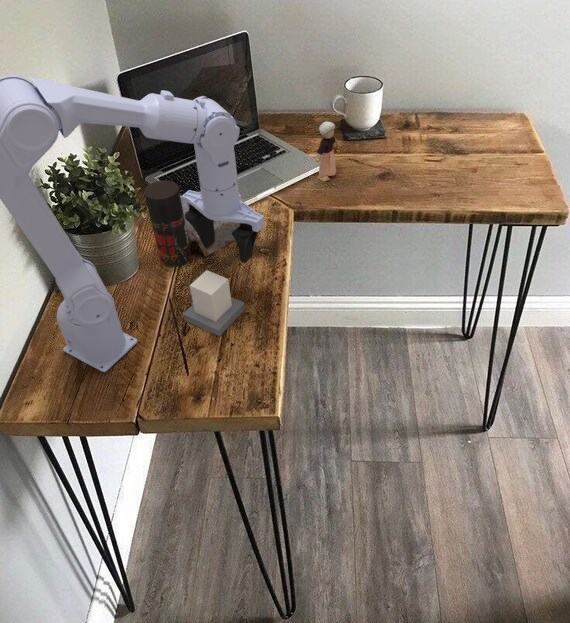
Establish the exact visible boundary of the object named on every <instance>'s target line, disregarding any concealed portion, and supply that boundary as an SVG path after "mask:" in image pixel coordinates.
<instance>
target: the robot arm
mask: <svg viewBox="0 0 570 623" xmlns="http://www.w3.org/2000/svg"><path fill="white" fill-rule="evenodd" d="M30 79H31V80H32V82H31V81H30V80H29V79H27V78H25V77H22V76H19V75H15V74H13V75H12V74H9V75H5V76H4V75H3V76H1V77H0V200H1V202H2V204H3V205H4V206H5V208H6V209H7V211H8V212H9V214H10V215H11V216H12V218H13V220H14V221H15V222H16V224H17V225H18V227H19V228H20V229H21V231H22V232H23V234H24V235H25V237H26V238H27V239H28V241H29V242H30V244H31V245H32V246H33V248H34V249H35V251H36V253H37V254H38V255H39V256H40V258H41V260H42V261H43V262H44V264H45V265H46V266H47V268H48V269H49V271H50V272H51V274H52V275H53V276H54V279H55V284H56V286H57V288H58V289H59V291H60V292H61V294H62V296H63V298H64V299H63V301H62V302H60V305H59V306H58V309H57V313H56V321H57V324H58V327H59V329H60V332H61V334H62V337H63V338H64V341H65V344H66V345H65V346H64V347H63V349H62V350H63V352H64V353H67V355H70V356H72V357H73V358H76V359H78V360H79V361H81V362H83V363H85V364H86V365H88V366H90V367H92V368H95V369H96V370H98V371H100V372H102V373H106V372H108V371H109V370H110V369H111V368H112V367H113V366H114V365H115V364H116V363H117V362H118V361H119V360H120V359H121V358H123V357H124V356H125V355H126V354H127V353H128V352H129V351H130V350H131V349H132V348H134V346H136V345H137V344H138V341H139V340H138V339H137V338H135V337H134V336H132V335H129V334H127V333H125V332H124V331H123V327H122V324H121V321H120V318H119V315H118V311H117V308H116V306H115V300H114V298H113V296H112V295H111V294H110V293H109V291H108V290H107V288H106V286H105V284H104V282H103V280H102V279H101V277H100V275H99V273H98V271H97V268H96V266H95V265H94V264H93V263H92V262H91V261H90V260H88V259H85V258H84V257H82V255H81V254H80V252H79V251H78V250H77V249H76V247H75V246H74V244H73V242H72V241H71V239H70V238H69V236H68V234H67V233H66V232H65V230H64V228H63V227H62V225H61V224H60V222H59V221H58V218H56V216H55V214H54V212H53V211H52V209H51V208H50V206H49V205H48V203H47V201H46V200H45V199H44V197H43V195H42V194H41V192H40V191H39V189H38V188H37V186H36V184H35V183H34V181H33V179H32V178H31V176H30V172H31V170H32V168H33V167H34V165H36V164H37V163H38V162H39V160H41V159H42V157H43V156H44V155H45V154H46V153H47V152H48V151H50V149H51V148H52V147H53V146H54V144H55V143H56V142H57V140H58V137H59V133H60V134H61V135H62V137H63V139H66V138H68V137H69V136H70V135H71V134H72V133H73V132H74V131H75V130H76V129H77V128H78V126H80V125H81V124H90V125H91V124H93V125H107V126H115V127H116V126H117V127H129V128H139V130H140V131H141V133H142V134H143V136H144V137H146V138H148V139H152V140H162V141H167V142H176V143H182V144H193V146H194V152H195V161H196V162H195V163H196V168H197V174H198V181H199V188H200V191H194V190H191V189H189V190H188V191H186V192H185V193H183V195H181V201H182V206H186V207H189V211H188V212H186V213H185V219H186V220H187V221H188V222H189V223H190V224H191V225H192V226H193V228H194V229H195V231H196V232H197V234H198V236H199V237H200V239H201V241H202V243H203V245H204V247H205V248H207V249H208V248H209V247H210V246H211V245H212V244H213V243H214V242H215V232H214V220H215V221H224V222H234V223H240V226H239V227H238V228H237V229H236V230H234V231H233V232H232V235H233V237H234V238H235V240H234V241H235V242H236V244H237V247H238V252H239V253H238V254H239V258H240V261H241V263H243V264H246V263H247V262H248V261H249V260H250V259H251V258H252V257H253V251H254V246H255V242H256V241H257V240H256V239H257V237H258V234H259V232H260V231H261V230H262V229H264V228H263V227H265V216H264V214H261V213H259V212H257V211H255V210H254V209H253V208H252V207H250V206H249V205H248V204H247V203H246V202H244V201H243V200H242V194H240V191H239V181H238V170H237V162H236V154H235V145H236V142H237V141H238V139H239V137H240V133H241V132H240V131H241V130H240V127H239V126H238V125H237V121H236V120H235V118H234V117H233V116H232V115H231V113H229V112H228V111H227V110H226V109H224V107H222V106H221V105H220V104H219V103H218V102H216V101H215V100H214V99H211V98H208V97H207V96H205V95H201V96H198V97H196V98H194V99H186V98H182V97H181V98H180V97H177V96H176V97H175V95H173V93H172V92H171V91H169V90H164V89H163V90H161V91H160V94H159V93H153V92H152V93H148V94H147V95H146V96H144V97H143V98H142V99H140V100H138V99H133V98H128V97H124V96H118V95H114V94H110V93H105V92H101V91H97V90H92V89H89V88H88V89H86V88H82V87H77V86H74V85H69V84H64V83H60V82H58V81H54V80H50V79H45V78H41V77H31V78H30ZM241 200H242V201H243V202H244V203H243V202H242V201H241ZM246 204H247V205H248V206H247V205H246Z"/></svg>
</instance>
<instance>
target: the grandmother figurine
mask: <svg viewBox="0 0 570 623" xmlns="http://www.w3.org/2000/svg"><path fill="white" fill-rule="evenodd" d="M335 128H336V125H335V123H333V122H331V121H324V122H322V123H321V124H320V125H319V127H318V130H319V132H320V135H321V136H322V139H321V140H320V143H319V146H318V149H317V152H316V155H315V156H316V158H315V162H316V163H319V167H318V168H319V169H318V176H317V179H318V178H319V179H320V180H322V181H327V180H329V181H330V177H328V176H332V175H334V176H335V175H336V173H337V169H336V162H335V161H336V160H335V153H334V148H335V147H337V142H336V138H335V136H334V134H335ZM332 177H333V176H332ZM319 179H318V180H319ZM320 180H319V181H320ZM322 181H321V182H322Z"/></svg>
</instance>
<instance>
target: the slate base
mask: <svg viewBox="0 0 570 623" xmlns="http://www.w3.org/2000/svg"><path fill="white" fill-rule="evenodd" d="M231 302H232V306H231V307H230V308H229V309H228V310H227V311H226V312H225V313H224V314H223V315H222V316H221V317H220V318H219V319H218V320H217V321H216V322H215V321H213V320H211V319H209V318H206V317H204V316H202V315H200V314H198V313H195V311H194V306H193V304H192V305H191V306H190V307H188V308H187V309H186V310H185V311H184V312H183V313H182V317H183V321H185V322H187V323H189V324H191V325H193V326H195V327H199V328H200V329H202V330H204V331H206V332H208V333H211V334H213V335H216V336H217V337H221V335H223V334H224V333H225V331H226V330H227V329H228V328H229V327H231V325H232V324H233V323H234V322H235V321H236V320H237V319H238V318H239V317H240V316H241V314H242V313H244V311H245V310H246V303H245V302H244V301H242V300H238V299H236V298H233V297H232V296H231Z"/></svg>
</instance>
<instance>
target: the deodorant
mask: <svg viewBox="0 0 570 623" xmlns="http://www.w3.org/2000/svg"><path fill="white" fill-rule="evenodd" d="M179 188H180V187H179V185H178V183H176V182H174V181H171V180H166V179H165V180H158V181H154V182H152V183H150V184H148V185H147V186H146V187H145V189H144V191H143V192H144V197H145V201H146V204H147V209H148V215H149V218H150V223H151V227H152V231H153V235H154V236H153V237H154V239H155V240H154V241H155V244H156V249H157V252H158V257H159V261H160V263H161V264H162V265H163V266H165V267H168V268H176V267H180V266H183V265H185V264H187V263H188V262H189V261H190V259H191V258H192V253H191V252H192V251H191V247H190V241H189V240H188V235H187V230H186V225H185V219H184V214H183V209H182V207H183V202H182V197H181V193H180V189H179Z"/></svg>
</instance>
